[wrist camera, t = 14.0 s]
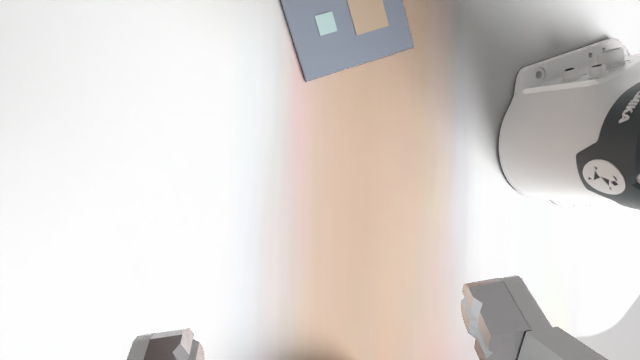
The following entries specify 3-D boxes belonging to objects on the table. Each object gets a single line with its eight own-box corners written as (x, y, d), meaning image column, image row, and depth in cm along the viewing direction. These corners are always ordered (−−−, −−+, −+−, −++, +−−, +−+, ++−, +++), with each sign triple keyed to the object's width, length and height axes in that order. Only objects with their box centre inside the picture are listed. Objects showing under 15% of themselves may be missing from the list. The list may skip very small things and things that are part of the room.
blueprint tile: (389, -46, 37) (391, -47, 36) (412, 47, 39) (414, 47, 38) (275, -17, 34) (275, -19, 34) (305, 81, 36) (307, 81, 36)
